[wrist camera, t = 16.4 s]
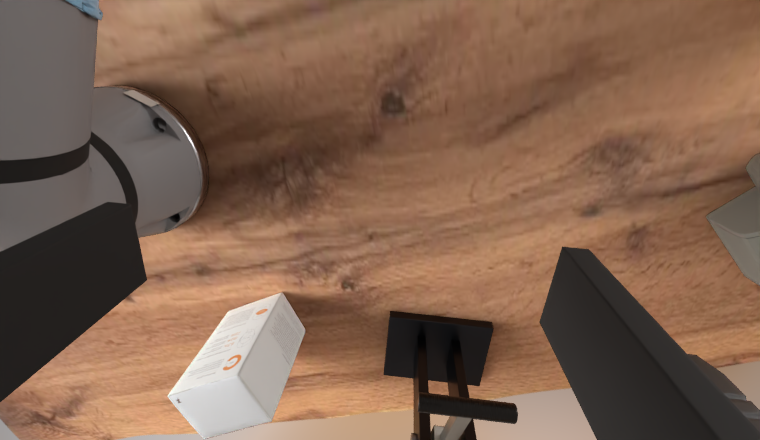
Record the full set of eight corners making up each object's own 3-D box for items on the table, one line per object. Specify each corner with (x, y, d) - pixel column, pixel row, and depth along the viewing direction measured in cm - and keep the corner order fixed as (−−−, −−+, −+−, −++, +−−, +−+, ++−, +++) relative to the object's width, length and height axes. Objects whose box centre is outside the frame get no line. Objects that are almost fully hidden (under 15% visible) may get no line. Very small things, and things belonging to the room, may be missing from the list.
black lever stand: (390, 310, 45) (380, 420, 31) (491, 321, 44) (527, 438, 30) (384, 367, 48) (373, 488, 35) (477, 378, 48) (504, 505, 34)
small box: (253, 347, 48) (202, 441, 37) (227, 309, 46) (163, 396, 34) (308, 330, 47) (272, 423, 35) (283, 290, 45) (236, 374, 33)
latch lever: (419, 381, 28) (418, 416, 26) (515, 393, 27) (520, 429, 26) (404, 431, 36) (403, 459, 34) (477, 440, 36) (479, 469, 34)
